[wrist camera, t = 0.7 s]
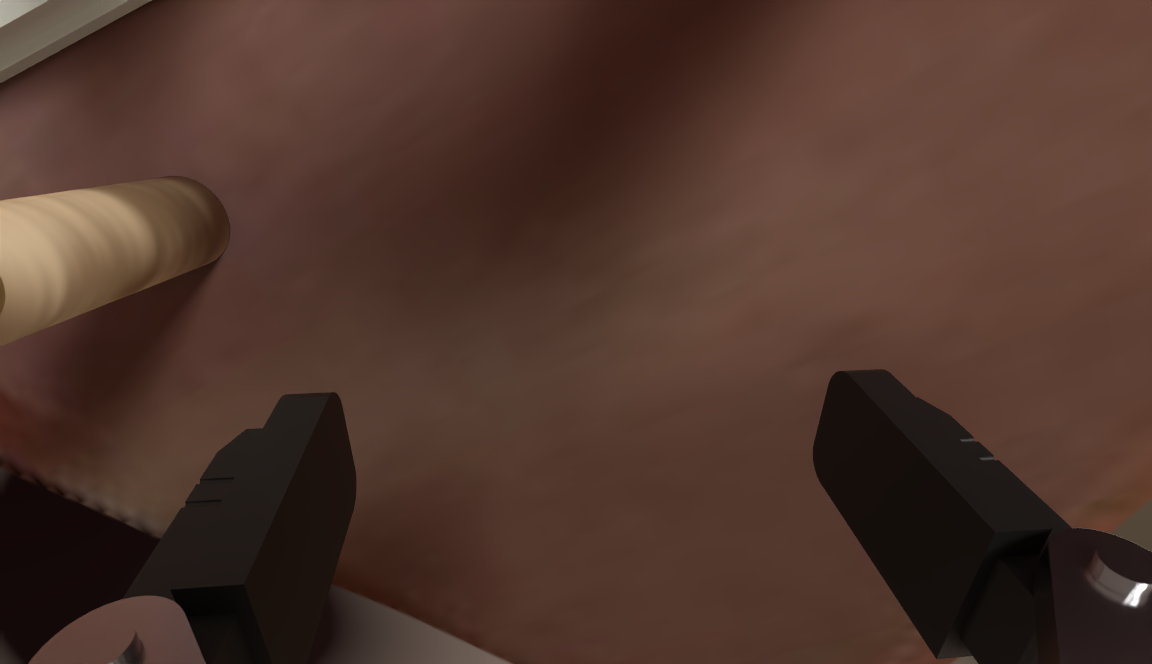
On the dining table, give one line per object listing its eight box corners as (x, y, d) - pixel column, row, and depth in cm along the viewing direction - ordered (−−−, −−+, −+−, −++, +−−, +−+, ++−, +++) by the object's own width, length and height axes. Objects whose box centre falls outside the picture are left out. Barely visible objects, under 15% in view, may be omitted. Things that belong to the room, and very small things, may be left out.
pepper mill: (140, 164, 30) (-187, 199, 17) (234, 191, 30) (-17, 245, 18) (135, 252, 32) (-169, 345, 19) (225, 277, 32) (-13, 384, 19)
